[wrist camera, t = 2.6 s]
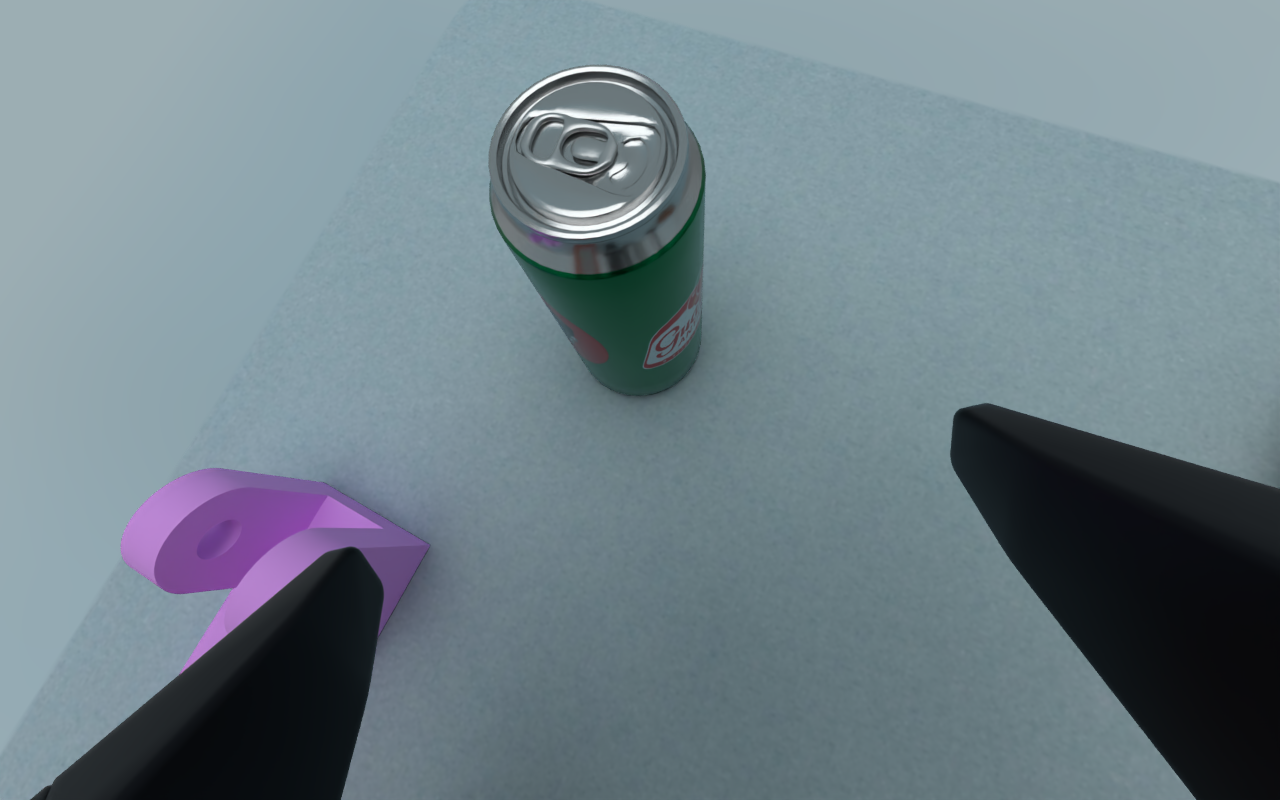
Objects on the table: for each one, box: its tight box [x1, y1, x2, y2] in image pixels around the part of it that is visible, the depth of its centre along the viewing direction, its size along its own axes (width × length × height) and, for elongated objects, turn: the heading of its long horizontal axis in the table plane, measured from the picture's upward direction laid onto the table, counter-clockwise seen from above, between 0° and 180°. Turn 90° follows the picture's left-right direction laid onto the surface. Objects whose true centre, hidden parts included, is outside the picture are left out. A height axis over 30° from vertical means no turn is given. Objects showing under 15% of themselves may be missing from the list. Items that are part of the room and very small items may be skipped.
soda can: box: [489, 65, 706, 396], centre depth 17 cm, size 5×5×12 cm
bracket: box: [121, 468, 430, 675], centre depth 18 cm, size 13×6×7 cm, turn 153°
